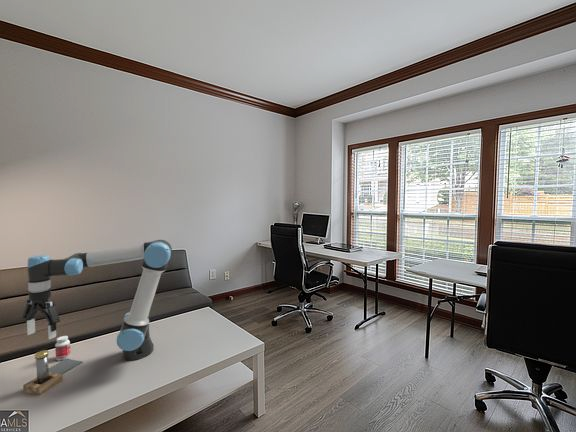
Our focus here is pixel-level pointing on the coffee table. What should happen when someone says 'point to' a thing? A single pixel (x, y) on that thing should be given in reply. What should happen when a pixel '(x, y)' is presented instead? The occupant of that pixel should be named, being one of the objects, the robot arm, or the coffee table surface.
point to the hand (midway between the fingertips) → (41, 335)
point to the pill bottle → (62, 348)
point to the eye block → (39, 389)
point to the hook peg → (42, 366)
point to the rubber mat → (64, 366)
